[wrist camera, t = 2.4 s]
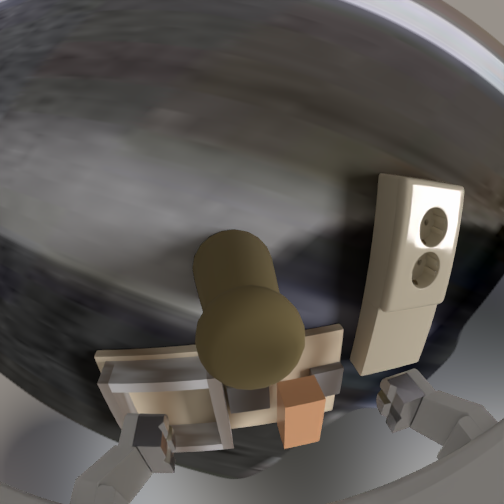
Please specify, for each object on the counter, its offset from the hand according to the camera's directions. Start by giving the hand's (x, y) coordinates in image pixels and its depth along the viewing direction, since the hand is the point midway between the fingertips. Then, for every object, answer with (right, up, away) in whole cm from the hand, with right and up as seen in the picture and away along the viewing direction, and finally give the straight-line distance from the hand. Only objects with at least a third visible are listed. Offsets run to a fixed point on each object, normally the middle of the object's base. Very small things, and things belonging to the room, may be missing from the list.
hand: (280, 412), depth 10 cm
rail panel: (-4, -7, +16) cm, 18 cm away
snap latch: (+3, -7, +14) cm, 16 cm away
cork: (-2, +5, +13) cm, 14 cm away
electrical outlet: (+12, +4, +16) cm, 21 cm away
